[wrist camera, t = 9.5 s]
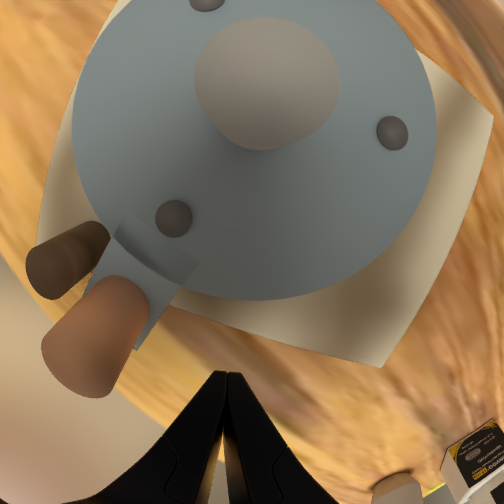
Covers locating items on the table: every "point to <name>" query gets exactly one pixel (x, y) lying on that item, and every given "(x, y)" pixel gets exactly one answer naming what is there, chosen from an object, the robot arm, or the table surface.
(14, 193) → the table surface
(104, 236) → the board
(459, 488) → the medicine bottle
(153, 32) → the flange plate
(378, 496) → the salt shaker
